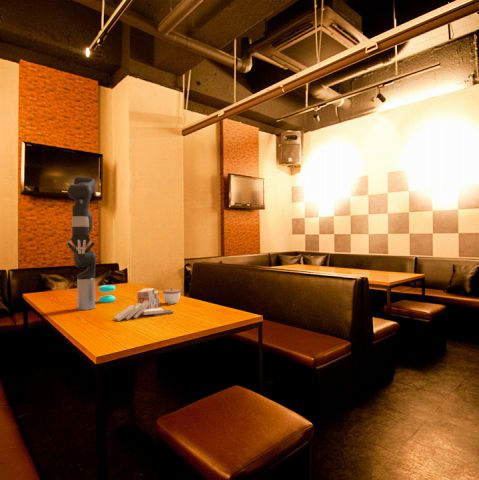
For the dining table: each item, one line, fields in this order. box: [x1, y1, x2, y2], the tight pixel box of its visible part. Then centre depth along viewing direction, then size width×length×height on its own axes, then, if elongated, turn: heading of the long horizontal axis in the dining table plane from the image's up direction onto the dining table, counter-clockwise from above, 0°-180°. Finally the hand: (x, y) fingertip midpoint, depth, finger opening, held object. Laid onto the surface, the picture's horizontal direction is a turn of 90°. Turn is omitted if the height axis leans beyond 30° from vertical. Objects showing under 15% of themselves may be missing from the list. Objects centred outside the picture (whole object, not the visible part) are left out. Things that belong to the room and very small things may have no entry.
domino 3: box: [132, 300, 150, 319], centre depth 169 cm, size 5×2×10 cm
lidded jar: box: [162, 287, 181, 305], centre depth 205 cm, size 11×11×9 cm
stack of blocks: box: [137, 287, 160, 316], centre depth 184 cm, size 21×6×12 cm, turn 0°
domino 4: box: [142, 307, 165, 316], centre depth 172 cm, size 5×2×10 cm
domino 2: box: [123, 302, 144, 320], centre depth 167 cm, size 5×2×10 cm
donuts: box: [98, 284, 116, 304], centre depth 211 cm, size 10×10×10 cm
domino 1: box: [114, 304, 136, 322], centre depth 164 cm, size 5×2×10 cm
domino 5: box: [151, 309, 174, 317], centre depth 175 cm, size 5×2×10 cm
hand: (80, 261), depth 160 cm, fingers closed
